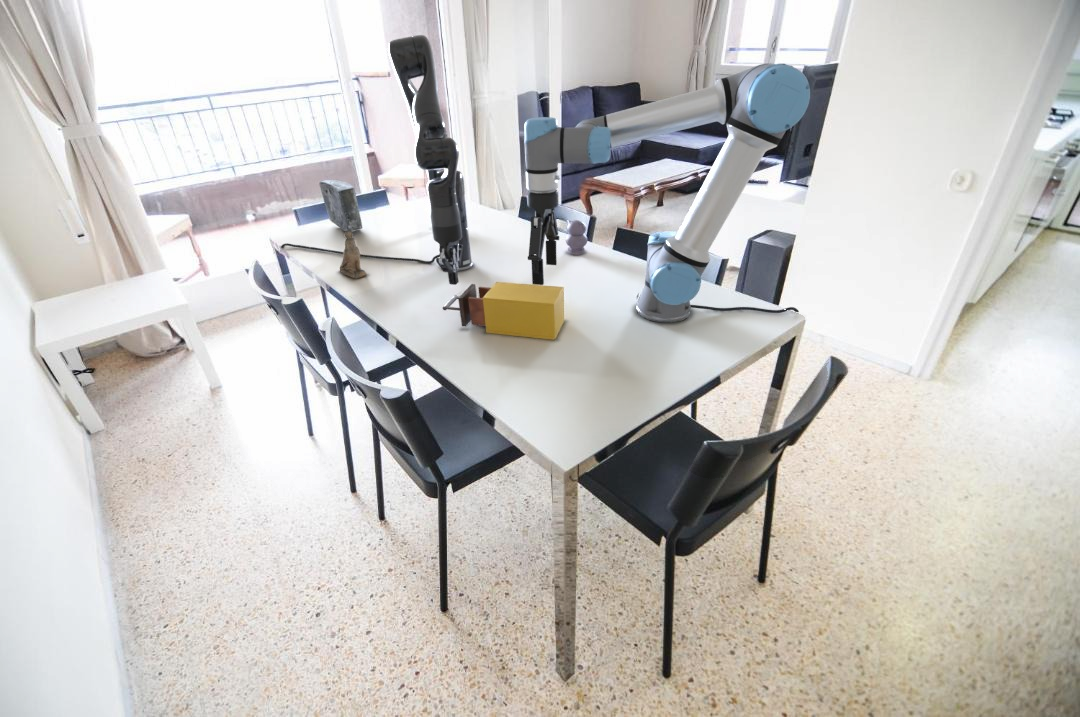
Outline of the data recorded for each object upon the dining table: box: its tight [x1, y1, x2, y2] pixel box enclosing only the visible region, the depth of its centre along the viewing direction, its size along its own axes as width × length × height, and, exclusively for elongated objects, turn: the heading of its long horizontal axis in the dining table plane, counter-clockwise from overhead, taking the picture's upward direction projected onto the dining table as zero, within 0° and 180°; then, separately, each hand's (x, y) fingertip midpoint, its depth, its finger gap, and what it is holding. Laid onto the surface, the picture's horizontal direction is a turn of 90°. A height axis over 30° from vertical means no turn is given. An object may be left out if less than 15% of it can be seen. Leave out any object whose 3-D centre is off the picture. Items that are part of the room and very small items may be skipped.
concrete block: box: [318, 178, 363, 233], centre depth 220 cm, size 27×9×20 cm, turn 36°
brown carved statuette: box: [339, 230, 367, 280], centre depth 174 cm, size 12×6×18 cm, turn 43°
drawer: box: [442, 283, 492, 328], centre depth 139 cm, size 24×10×9 cm, turn 75°
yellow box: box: [483, 281, 565, 341], centre depth 136 cm, size 20×11×11 cm, turn 75°
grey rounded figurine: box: [565, 219, 588, 256], centre depth 186 cm, size 8×8×12 cm
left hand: (454, 283), depth 138 cm, fingers closed
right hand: (545, 274), depth 129 cm, fingers open, 13 cm apart
